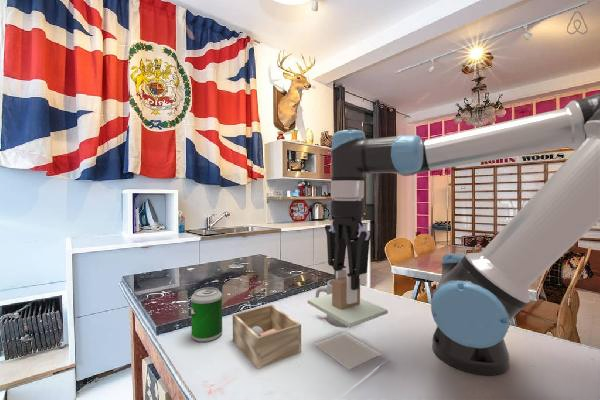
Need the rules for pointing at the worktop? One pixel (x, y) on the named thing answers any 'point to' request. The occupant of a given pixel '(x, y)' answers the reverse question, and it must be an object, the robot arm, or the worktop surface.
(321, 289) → the mug
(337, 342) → the pad
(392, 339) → the worktop surface
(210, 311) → the soda can
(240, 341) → the crate
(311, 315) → the worktop surface
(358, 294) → the lid
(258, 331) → the ball
